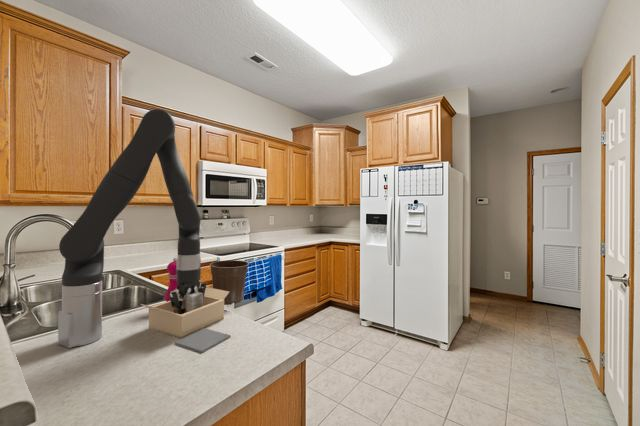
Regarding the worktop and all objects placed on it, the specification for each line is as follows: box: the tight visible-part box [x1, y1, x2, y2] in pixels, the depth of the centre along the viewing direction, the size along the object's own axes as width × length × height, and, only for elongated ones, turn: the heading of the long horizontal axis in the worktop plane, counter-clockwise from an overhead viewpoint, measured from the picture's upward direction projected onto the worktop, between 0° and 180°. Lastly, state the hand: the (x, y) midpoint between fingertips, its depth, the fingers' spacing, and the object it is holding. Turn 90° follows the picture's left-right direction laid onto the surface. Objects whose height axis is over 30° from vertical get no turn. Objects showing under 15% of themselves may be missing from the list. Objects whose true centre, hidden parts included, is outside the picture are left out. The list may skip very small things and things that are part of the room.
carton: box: [140, 286, 229, 340], centre depth 99 cm, size 24×16×9 cm, turn 154°
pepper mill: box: [164, 257, 178, 302], centre depth 113 cm, size 7×7×20 cm
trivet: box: [174, 327, 231, 354], centre depth 87 cm, size 11×11×1 cm
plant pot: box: [208, 259, 250, 306], centre depth 123 cm, size 16×16×16 cm
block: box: [173, 292, 203, 314], centre depth 99 cm, size 4×9×10 cm, turn 64°
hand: (188, 316), depth 99 cm, fingers closed on block, 4 cm apart
